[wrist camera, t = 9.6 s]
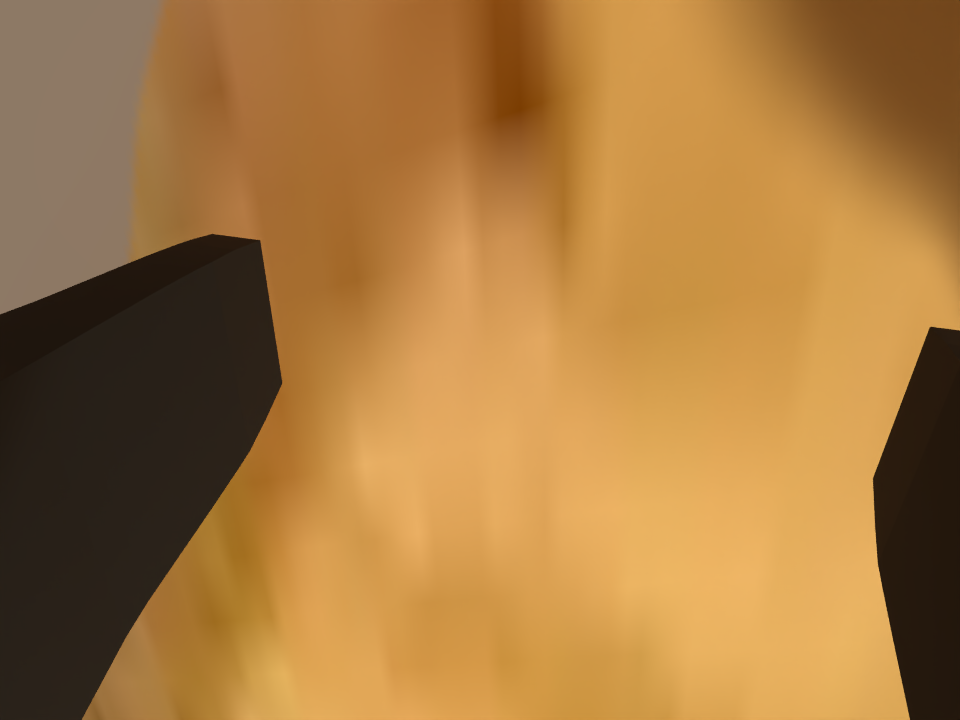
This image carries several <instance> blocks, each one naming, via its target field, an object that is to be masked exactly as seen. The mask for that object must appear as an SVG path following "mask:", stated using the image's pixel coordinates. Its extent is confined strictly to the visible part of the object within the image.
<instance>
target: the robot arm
mask: <svg viewBox="0 0 960 720" xmlns="http://www.w3.org/2000/svg"><path fill="white" fill-rule="evenodd" d="M281 385H282V378H281V371H280V365H279V359H278V352H277V346H276V339H275V333H274V326H273V320H272V314H271V307H270V301H269V294H268V288H267V281H266V275H265V269H264V262H263V256H262V249H261V243H260V240H254V239H246V238H238V237H231V236H223V235H215V234H210V235H207V236H203V237H199V238H196V239H192V240H189V241H186V242H183V243H180V244H177V245H175V246H172V247H169V248H166V249H164V250H161V251H158V252H156V253H153V254H151V255H148V256H146V257H143V258H141V259H138V260H136V261H133V262H131V263H128V264H126V265H123V266H121V267H118V268H116V269H114V270H111V271H109V272H106V273H104V274H102V275H99V276H96V277H94V278H92V279H89V280H87V281H84V282H82V283H80V284H77V285H74V286H72V287H70V288H67V289H65V290H62V291H60V292H57V293H55V294H52V295H50V296H48V297H45V298H43V299H40V300H38V301H35V302H33V303H30V304H27V305H24V306H22V307H19V308H16V309H14V310H11V311H8V312H6V313H3V314H0V720H82V718H83V716H84V714H85V712H86V710H87V709H88V707H89V705H90V703H91V701H92V699H93V697H94V696H95V694H96V692H97V690H98V688H99V686H100V684H101V683H102V681H103V679H104V677H105V675H106V673H107V671H108V669H109V668H110V666H111V664H112V662H113V660H114V658H115V656H116V655H117V653H118V651H119V649H120V647H121V645H122V643H123V642H124V640H125V638H126V636H127V635H128V633H129V631H130V630H131V628H132V627H133V625H134V623H135V622H136V620H137V618H138V617H139V615H140V614H141V612H142V610H143V609H144V607H145V606H146V604H147V602H148V601H149V599H150V598H151V596H152V595H153V593H154V592H155V591H156V589H157V588H158V586H159V585H160V583H161V582H162V580H163V579H164V577H165V576H166V574H167V573H168V572H169V570H170V569H171V567H172V566H173V564H174V563H175V561H176V560H177V558H178V557H179V555H180V554H181V553H182V551H183V550H184V548H185V547H186V545H187V544H188V542H189V541H190V539H191V538H192V536H193V535H194V534H195V532H196V531H197V529H198V528H199V526H200V525H201V523H202V522H203V520H204V519H205V518H206V516H207V515H208V513H209V512H210V510H211V509H212V507H213V506H214V504H215V503H216V501H217V500H218V498H219V497H220V495H221V494H222V492H223V491H224V489H225V488H226V486H227V485H228V483H229V482H230V480H231V479H232V477H233V476H234V474H235V473H236V472H237V470H238V469H239V467H240V465H241V464H242V462H243V461H244V459H245V458H246V456H247V455H248V453H249V451H250V450H251V448H252V446H253V444H254V442H255V440H256V438H257V436H258V434H259V432H260V430H261V428H262V426H263V424H264V422H265V420H266V418H267V415H268V413H269V411H270V409H271V407H272V404H273V402H274V400H275V398H276V396H277V394H278V391H279V389H280V387H281ZM873 489H874V511H875V530H876V544H877V557H878V566H879V572H880V577H881V582H882V587H883V592H884V597H885V602H886V607H887V612H888V617H889V622H890V627H891V632H892V636H893V641H894V646H895V651H896V655H897V660H898V665H899V669H900V674H901V679H902V684H903V688H904V693H905V698H906V702H907V707H908V712H909V717H910V720H960V331H959V330H951V329H943V328H936V327H930V328H929V331H928V334H927V336H926V339H925V342H924V344H923V347H922V350H921V352H920V355H919V358H918V360H917V363H916V366H915V368H914V371H913V374H912V376H911V379H910V382H909V384H908V387H907V390H906V392H905V395H904V398H903V400H902V403H901V405H900V408H899V411H898V413H897V416H896V419H895V421H894V424H893V427H892V429H891V432H890V435H889V437H888V440H887V443H886V445H885V448H884V451H883V453H882V456H881V459H880V461H879V464H878V467H877V469H876V472H875V475H874V477H873Z"/></svg>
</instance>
